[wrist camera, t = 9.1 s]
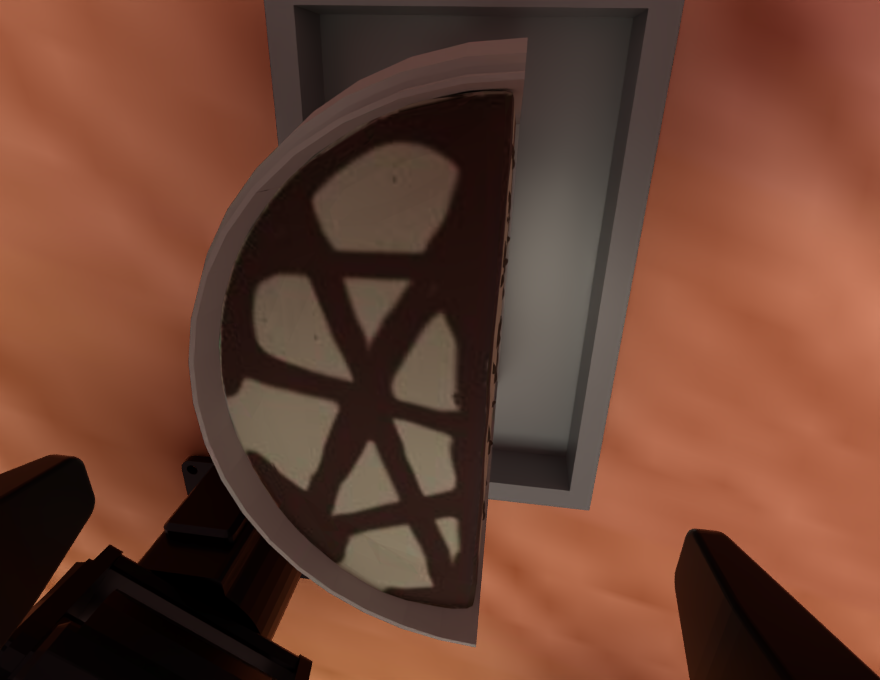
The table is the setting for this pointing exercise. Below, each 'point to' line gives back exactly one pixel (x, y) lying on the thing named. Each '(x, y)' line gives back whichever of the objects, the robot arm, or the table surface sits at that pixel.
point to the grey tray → (529, 192)
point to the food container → (370, 335)
